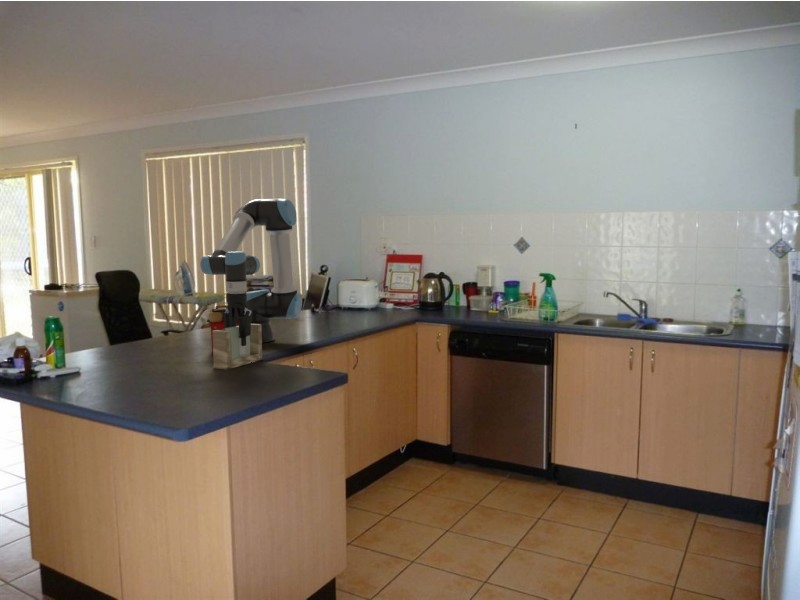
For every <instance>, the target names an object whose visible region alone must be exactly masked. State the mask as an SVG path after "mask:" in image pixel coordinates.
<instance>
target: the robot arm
mask: <svg viewBox="0 0 800 600" xmlns="http://www.w3.org/2000/svg"><path fill="white" fill-rule="evenodd" d="M296 223H297V211H296V207H295V204H294V203H293V202H292V200H290V199H289V198H288V199H287V198H280V197H279V198H255V199H253V200H250V201H248V202H246V203H245V204H243V205H242V206H241V207H240V208H239V209H237V211H236V212H235V214H234V215H233V217H232V222H231V224H230V226H229V227H228V228H227V231H226V232H225V234H224V235H223V237H222V238H221V240H220V242H219V243H218V245H217V246H216V248H215V249H214V251H213V253H212V254H211V255H209V254H208V255H204V256H202V257H201V259H200V263H199V264H200V270H201V272H202V273H203V274H205V275H210V276H211V275H212V276H214V275H215V276H217V275H219V276H220V275H221V276H223V275H224V276H225V289H226V290H225V292H227V293H226V295H225V297H226V299H225V300H226V301H225V302H226V303H227V308H221V309H222V313H223V316H224V326H225V328H229V327H234V326H236V324H237V320H238V325H239V332H240V336H239V355H242V354H245V346H246V337H247V336H249V335H250V334H251V324H261V332H262V344H263V343H269V342H272V341H275V334H274V331H273V327H272V325H271V319H286V320H288V319H289V320H290V319H297V318H298V317H299V315H301V314H300V313H301V311H302V307H303V306H302V305H303V296H302V293H300V292H298V288H297V287H296V286H295V285H294V280H293V278H294V277H293V266H292V253H291V251H292V249H291V239H290V238H291V237H290V233H291V231H292V230H293V226H295V225H296ZM258 226H263V227H264V226H265V231H266V232H267V233H268V234H269V240H270V241H269V242H270V253H271V256H270V257H271V264H272V265H271V268H272V278H273V279H272V280H273V287H272V288H271V289H270V290H269V289H260V290H253V291H248V288H247V284H248V283H247V276H252V275H254V274H257V273H258V272H259V270H260V268H261V263H260V260H259V258H257V257H256V256H254V255H247V254H246V253H245V251H238V250H239V248H240V246H241V244H243V241H244V240H245V238H246V236H247V235H248V233H249V232H251V231H252V230H254V228H255V227H258Z"/></svg>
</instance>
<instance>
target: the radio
mask: <svg viewBox="0 0 800 600" xmlns="http://www.w3.org/2000/svg"><path fill="white" fill-rule="evenodd" d="M227 306H228V304H217V305H216V306H215V307H214V308H211V310H210V311H209V313H208V319H209V322H210V335H211V337H210V338H211V339H210V340H211V353H212V356H213V332H212V331H213V330H223V331H225V326H224V316H223V313H222V309H225V308H227ZM236 326H239V325H238V320H237V324H236Z"/></svg>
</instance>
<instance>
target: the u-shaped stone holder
mask: <svg viewBox="0 0 800 600" xmlns="http://www.w3.org/2000/svg"><path fill="white" fill-rule="evenodd" d="M212 332H213V355H212V356H213V357H212V358H213V369H218V370H227V371H228V370H230V369H234V368H237V367H241V366H243V365H248V364H251V362H252V363H255V362H259V361H261V360H263V343H262V332H261V324H251V334H250V356H247V357H243V358H239V359H235V360H230V343H229V331H223V330H213V331H212Z"/></svg>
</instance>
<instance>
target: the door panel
mask: <svg viewBox="0 0 800 600" xmlns="http://www.w3.org/2000/svg"><path fill="white" fill-rule="evenodd" d="M225 331H229V343H230V360H235V359H239V358H243V357H247V356H250V335H249V336H247V337H246V346H245V354H242V355H239V336H240V332H239V326H234V327H229V328H225Z"/></svg>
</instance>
